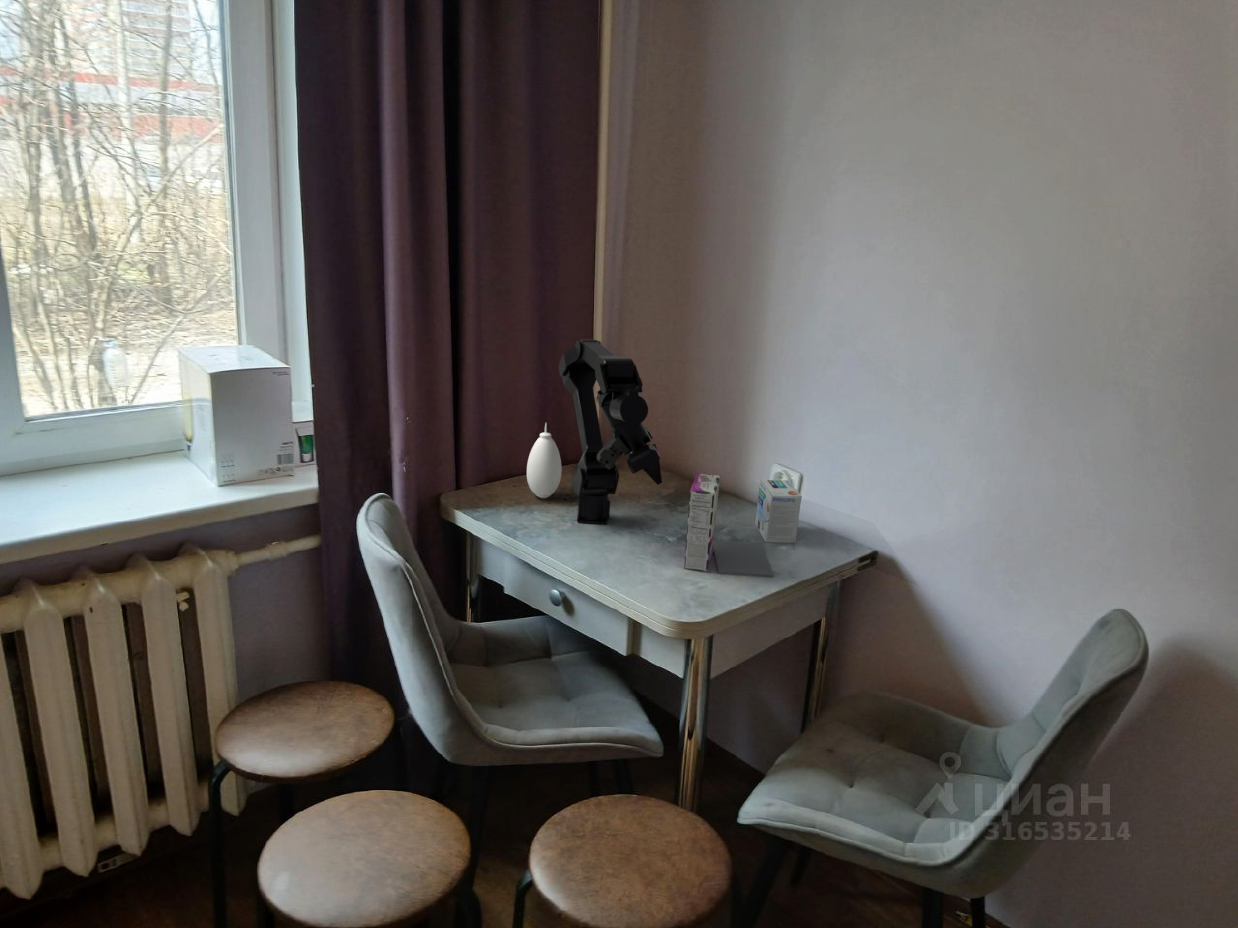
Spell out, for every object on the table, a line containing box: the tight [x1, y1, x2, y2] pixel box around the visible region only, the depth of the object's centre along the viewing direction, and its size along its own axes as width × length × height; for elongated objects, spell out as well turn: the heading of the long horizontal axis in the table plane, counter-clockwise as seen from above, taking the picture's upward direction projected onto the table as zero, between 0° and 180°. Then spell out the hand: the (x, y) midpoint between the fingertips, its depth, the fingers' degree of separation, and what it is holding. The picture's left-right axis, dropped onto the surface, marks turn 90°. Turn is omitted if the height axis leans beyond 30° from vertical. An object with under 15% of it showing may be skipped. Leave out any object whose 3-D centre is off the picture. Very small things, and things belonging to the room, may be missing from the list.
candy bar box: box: [683, 472, 721, 572], centre depth 170 cm, size 11×5×16 cm, turn 168°
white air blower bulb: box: [526, 422, 562, 499], centre depth 200 cm, size 8×8×18 cm
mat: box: [713, 539, 774, 578], centre depth 175 cm, size 10×16×1 cm, turn 179°
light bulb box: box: [754, 479, 803, 544], centre depth 188 cm, size 11×7×11 cm, turn 5°
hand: (659, 483), depth 178 cm, fingers closed
